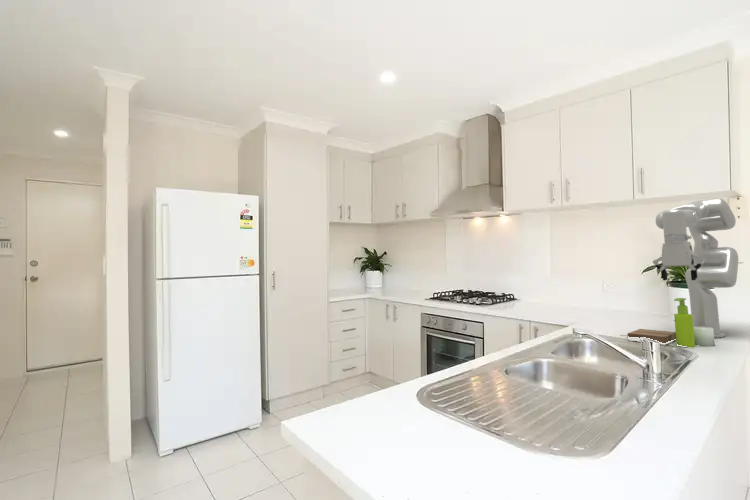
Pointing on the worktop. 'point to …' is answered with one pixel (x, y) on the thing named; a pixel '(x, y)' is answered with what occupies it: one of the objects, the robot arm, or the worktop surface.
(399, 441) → the worktop surface
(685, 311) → the soap dispenser
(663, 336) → the walnut plinth
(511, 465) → the worktop surface
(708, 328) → the pale green rounded block
